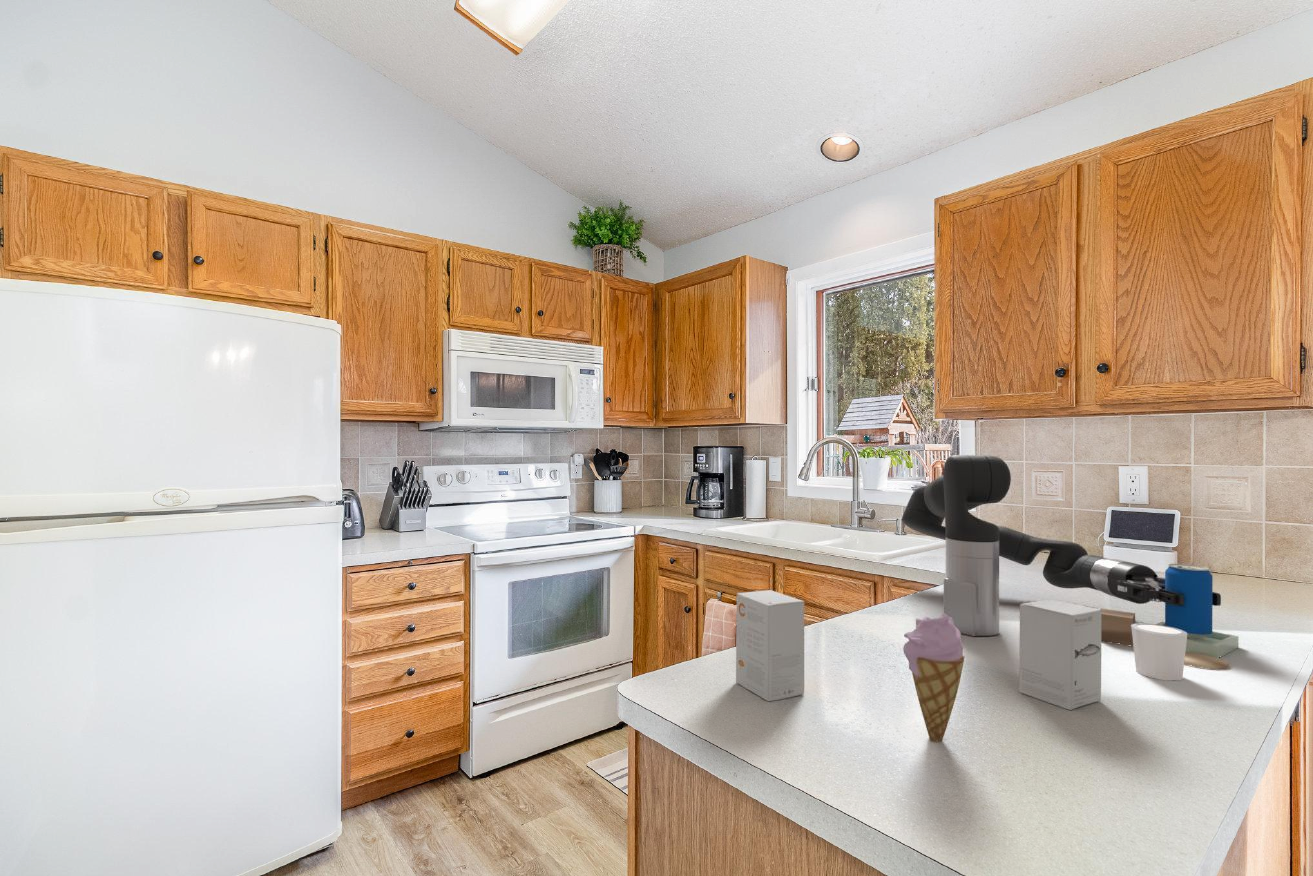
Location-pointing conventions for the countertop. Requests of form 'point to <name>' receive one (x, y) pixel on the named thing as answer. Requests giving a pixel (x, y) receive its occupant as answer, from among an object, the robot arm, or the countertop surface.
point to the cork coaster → (1205, 661)
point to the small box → (770, 644)
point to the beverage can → (1190, 599)
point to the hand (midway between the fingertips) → (1200, 600)
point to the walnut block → (1117, 626)
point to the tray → (1211, 644)
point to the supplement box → (1060, 653)
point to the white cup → (1159, 651)
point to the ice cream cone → (935, 669)
